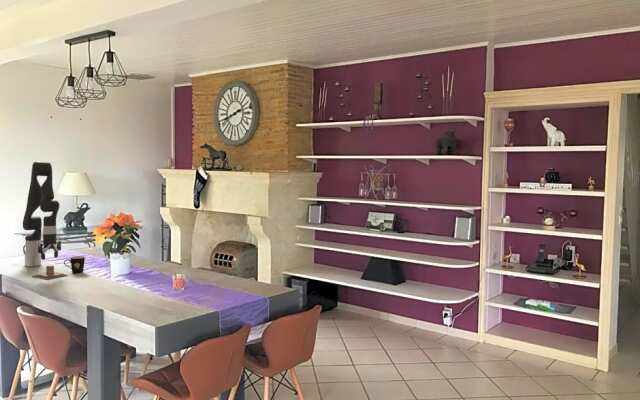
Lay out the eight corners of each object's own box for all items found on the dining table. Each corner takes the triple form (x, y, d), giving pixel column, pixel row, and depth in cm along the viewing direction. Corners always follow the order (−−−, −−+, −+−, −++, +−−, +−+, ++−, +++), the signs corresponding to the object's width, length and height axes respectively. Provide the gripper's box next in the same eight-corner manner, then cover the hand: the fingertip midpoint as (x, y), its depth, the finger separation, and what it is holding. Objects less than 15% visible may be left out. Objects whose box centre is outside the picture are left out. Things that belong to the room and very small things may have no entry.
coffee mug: (87, 271, 345) (87, 256, 344) (80, 274, 337) (80, 258, 336) (70, 270, 346) (70, 255, 346) (63, 273, 338) (63, 257, 337)
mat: (32, 277, 325) (32, 276, 325) (52, 273, 338) (52, 272, 338) (47, 279, 319) (47, 278, 319) (67, 275, 332) (67, 274, 332)
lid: (36, 275, 326) (36, 266, 325) (52, 272, 336) (52, 263, 335) (48, 278, 321) (48, 268, 321) (63, 275, 331) (63, 265, 330)
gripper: (55, 230, 334) (55, 256, 336) (35, 233, 322) (35, 259, 323) (64, 232, 331) (63, 257, 332) (43, 234, 318) (43, 261, 320)
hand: (49, 258), depth 328 cm, fingers open, 8 cm apart
